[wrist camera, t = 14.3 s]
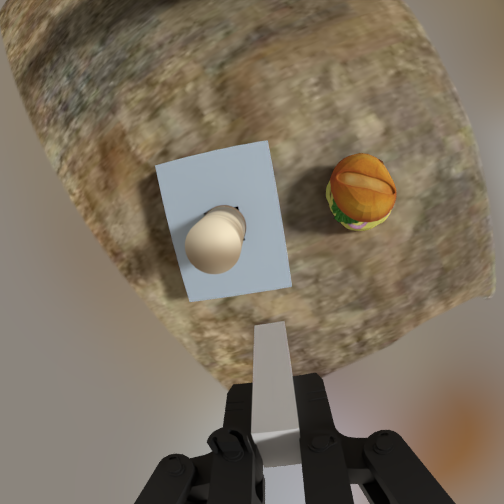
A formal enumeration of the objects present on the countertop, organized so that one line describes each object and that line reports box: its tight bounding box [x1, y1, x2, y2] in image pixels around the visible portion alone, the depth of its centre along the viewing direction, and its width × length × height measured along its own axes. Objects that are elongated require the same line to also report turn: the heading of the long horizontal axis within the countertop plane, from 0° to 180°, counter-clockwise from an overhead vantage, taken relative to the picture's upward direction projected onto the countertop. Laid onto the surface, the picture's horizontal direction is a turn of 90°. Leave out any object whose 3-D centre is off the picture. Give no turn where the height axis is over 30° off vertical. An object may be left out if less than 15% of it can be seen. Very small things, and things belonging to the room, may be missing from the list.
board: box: [155, 140, 292, 302], centre depth 38 cm, size 20×15×5 cm
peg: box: [185, 205, 246, 274], centre depth 33 cm, size 6×6×14 cm
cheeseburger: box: [326, 153, 396, 231], centre depth 35 cm, size 10×11×10 cm
